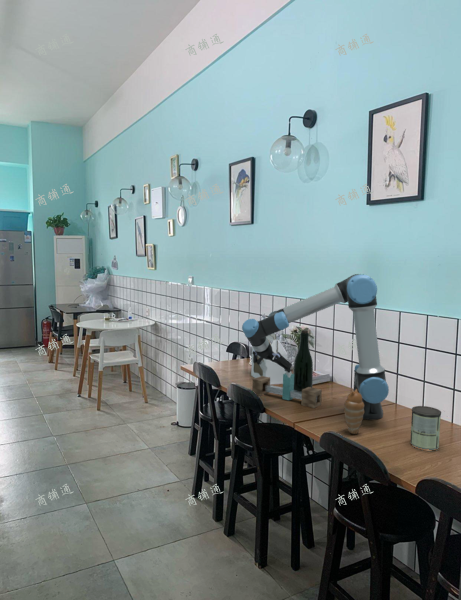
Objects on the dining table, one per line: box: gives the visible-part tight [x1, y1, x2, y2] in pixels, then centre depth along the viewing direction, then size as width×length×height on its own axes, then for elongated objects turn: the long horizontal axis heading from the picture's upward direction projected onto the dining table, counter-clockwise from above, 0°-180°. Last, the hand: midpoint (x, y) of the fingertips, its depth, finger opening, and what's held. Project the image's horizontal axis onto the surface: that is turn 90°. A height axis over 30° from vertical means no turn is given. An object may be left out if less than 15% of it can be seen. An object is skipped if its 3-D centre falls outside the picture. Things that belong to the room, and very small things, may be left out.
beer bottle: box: [292, 329, 314, 392], centre depth 246 cm, size 10×10×33 cm
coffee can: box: [409, 405, 442, 450], centre depth 176 cm, size 10×10×14 cm
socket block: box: [251, 376, 271, 397], centre depth 241 cm, size 5×9×8 cm, turn 143°
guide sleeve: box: [300, 386, 323, 409], centre depth 224 cm, size 7×7×8 cm
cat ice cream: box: [343, 389, 364, 435], centre depth 187 cm, size 9×8×18 cm
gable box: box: [250, 333, 289, 385], centre depth 269 cm, size 22×13×28 cm, turn 19°
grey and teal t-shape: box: [265, 373, 318, 402], centre depth 230 cm, size 28×4×13 cm, turn 53°
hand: (277, 372), depth 222 cm, fingers open, 13 cm apart
